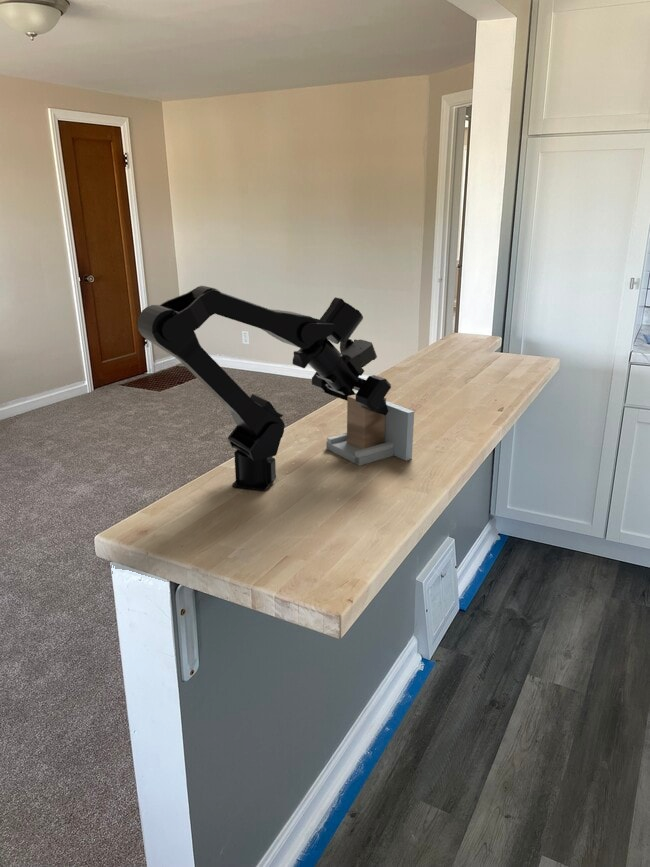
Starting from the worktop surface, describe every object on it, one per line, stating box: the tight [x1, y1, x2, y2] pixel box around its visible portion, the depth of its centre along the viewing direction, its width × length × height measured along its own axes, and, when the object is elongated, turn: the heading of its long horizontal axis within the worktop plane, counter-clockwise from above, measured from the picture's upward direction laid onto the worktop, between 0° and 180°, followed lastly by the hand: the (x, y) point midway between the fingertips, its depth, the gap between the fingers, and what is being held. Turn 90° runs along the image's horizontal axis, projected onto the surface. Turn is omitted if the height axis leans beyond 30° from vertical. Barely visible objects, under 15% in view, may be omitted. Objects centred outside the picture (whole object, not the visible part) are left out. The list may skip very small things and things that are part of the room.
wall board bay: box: [325, 389, 415, 467], centre depth 131 cm, size 11×18×10 cm, turn 36°
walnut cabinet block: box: [346, 394, 387, 449], centre depth 130 cm, size 6×6×10 cm
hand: (371, 407), depth 130 cm, fingers open, 9 cm apart
